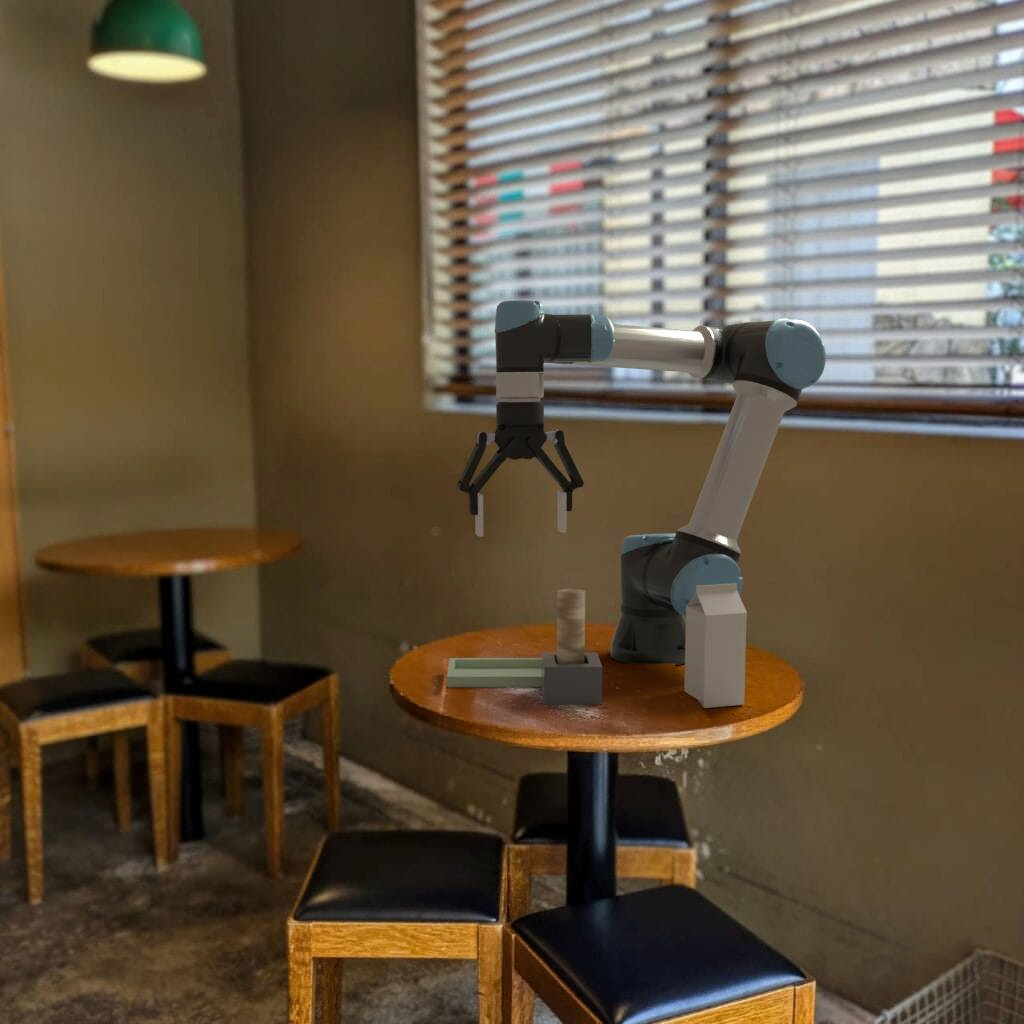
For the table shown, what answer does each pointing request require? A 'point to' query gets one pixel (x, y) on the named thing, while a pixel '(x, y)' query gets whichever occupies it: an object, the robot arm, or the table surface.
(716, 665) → the milk carton
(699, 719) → the table surface
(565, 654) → the dowel
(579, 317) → the robot arm
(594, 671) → the square block with hole
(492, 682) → the tray
